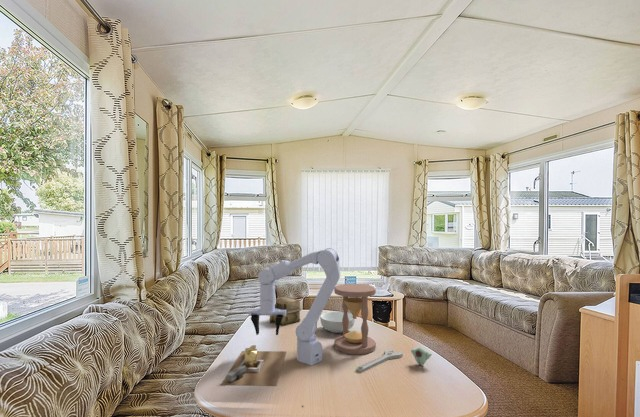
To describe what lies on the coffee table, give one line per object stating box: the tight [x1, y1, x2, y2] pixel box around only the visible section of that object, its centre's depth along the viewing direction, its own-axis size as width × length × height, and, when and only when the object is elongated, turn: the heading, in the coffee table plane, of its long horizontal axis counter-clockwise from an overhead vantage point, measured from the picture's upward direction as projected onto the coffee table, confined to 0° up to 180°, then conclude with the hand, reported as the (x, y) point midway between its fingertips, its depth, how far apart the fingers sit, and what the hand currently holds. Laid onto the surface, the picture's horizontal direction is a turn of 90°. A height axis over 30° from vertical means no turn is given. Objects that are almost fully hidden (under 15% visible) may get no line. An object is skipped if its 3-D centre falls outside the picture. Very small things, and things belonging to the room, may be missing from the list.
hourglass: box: [333, 283, 377, 355], centre depth 146 cm, size 18×18×25 cm
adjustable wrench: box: [355, 348, 404, 373], centre depth 131 cm, size 25×6×2 cm, turn 128°
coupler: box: [244, 344, 258, 368], centre depth 122 cm, size 5×4×7 cm
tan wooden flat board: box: [220, 347, 287, 387], centre depth 123 cm, size 18×28×4 cm, turn 179°
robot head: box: [410, 346, 433, 366], centre depth 127 cm, size 8×4×7 cm, turn 52°
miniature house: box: [269, 296, 302, 327], centre depth 181 cm, size 15×14×11 cm
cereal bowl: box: [319, 310, 356, 334], centre depth 167 cm, size 17×17×7 cm
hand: (267, 334), depth 133 cm, fingers open, 7 cm apart
